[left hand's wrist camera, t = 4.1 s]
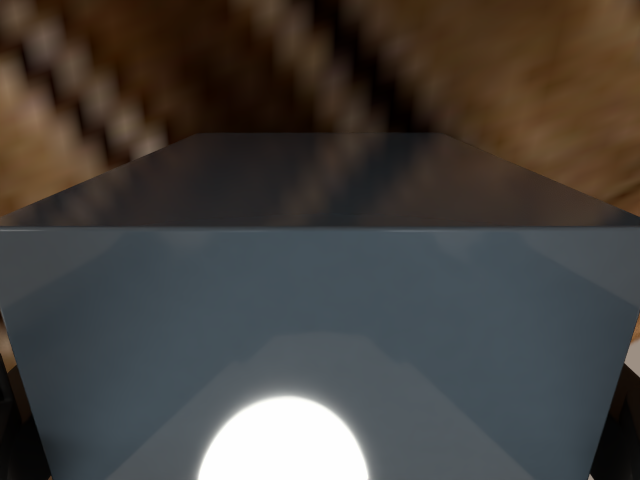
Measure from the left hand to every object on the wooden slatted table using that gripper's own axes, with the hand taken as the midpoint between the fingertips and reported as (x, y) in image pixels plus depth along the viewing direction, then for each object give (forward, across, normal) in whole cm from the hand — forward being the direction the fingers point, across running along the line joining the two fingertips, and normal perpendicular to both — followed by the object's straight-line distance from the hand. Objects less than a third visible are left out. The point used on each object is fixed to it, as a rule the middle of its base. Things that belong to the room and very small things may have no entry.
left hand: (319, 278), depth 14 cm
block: (+3, 0, 0) cm, 3 cm away
